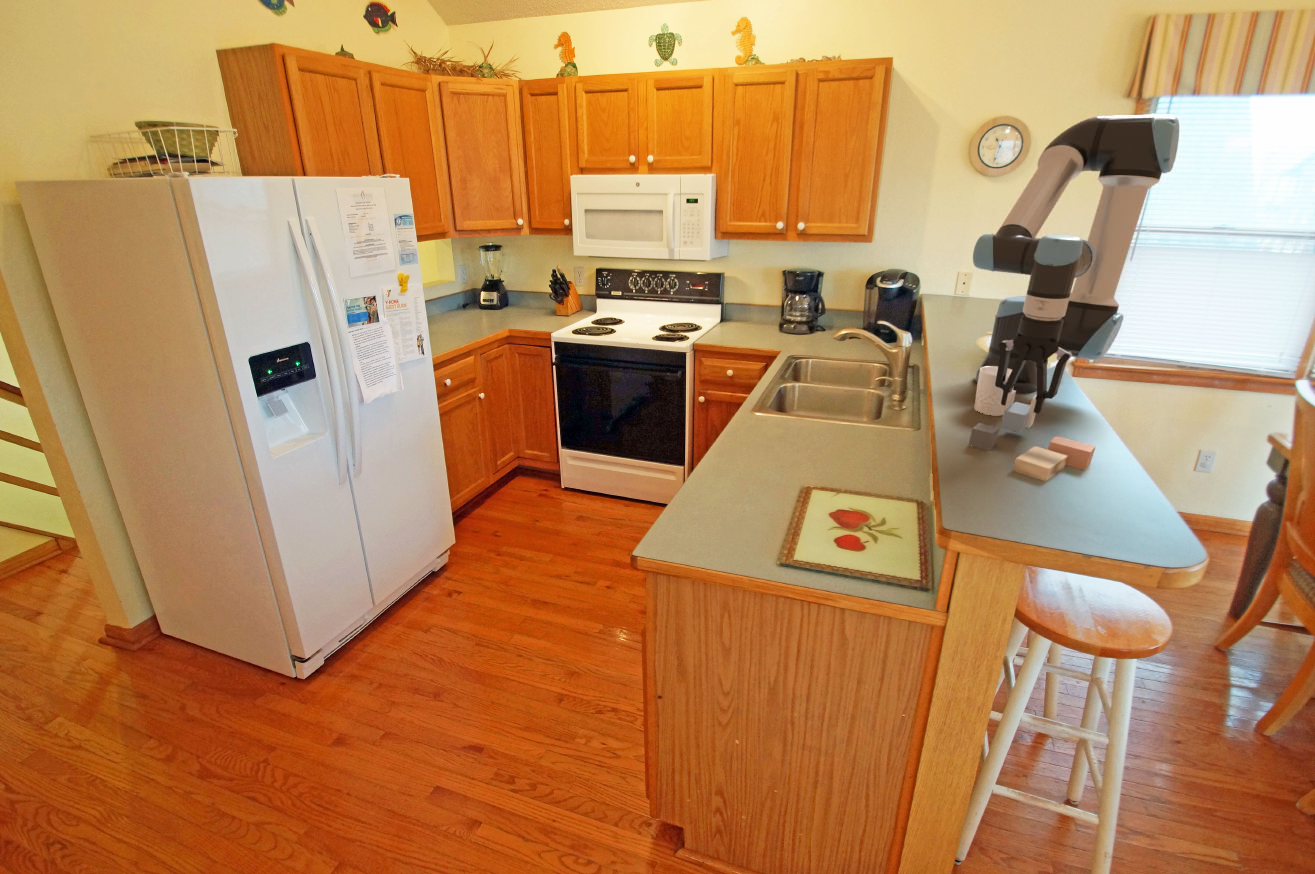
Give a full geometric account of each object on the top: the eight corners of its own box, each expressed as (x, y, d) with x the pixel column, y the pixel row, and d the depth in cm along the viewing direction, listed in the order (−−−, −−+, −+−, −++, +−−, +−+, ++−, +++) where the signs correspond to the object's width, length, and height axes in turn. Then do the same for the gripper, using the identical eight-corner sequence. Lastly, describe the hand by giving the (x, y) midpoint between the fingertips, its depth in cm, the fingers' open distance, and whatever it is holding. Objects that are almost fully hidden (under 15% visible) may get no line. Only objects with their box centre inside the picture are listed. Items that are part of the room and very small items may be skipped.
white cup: (1012, 418, 149) (1022, 377, 145) (975, 415, 151) (984, 375, 147) (1002, 406, 156) (1011, 367, 152) (967, 404, 158) (976, 364, 154)
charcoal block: (975, 440, 138) (979, 422, 136) (995, 445, 135) (999, 428, 134) (968, 445, 135) (972, 428, 134) (988, 451, 133) (992, 433, 131)
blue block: (1011, 418, 143) (1015, 401, 141) (1031, 423, 140) (1035, 406, 139) (1000, 427, 138) (1004, 410, 137) (1020, 432, 136) (1025, 415, 134)
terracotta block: (1045, 459, 129) (1050, 441, 128) (1051, 453, 132) (1055, 436, 130) (1084, 470, 125) (1090, 452, 123) (1090, 464, 127) (1095, 446, 126)
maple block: (1031, 459, 130) (1035, 445, 129) (1063, 469, 126) (1067, 455, 124) (1012, 472, 124) (1015, 458, 123) (1045, 483, 120) (1049, 469, 119)
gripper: (991, 312, 132) (970, 417, 142) (1086, 327, 122) (1055, 439, 131) (1004, 306, 137) (982, 407, 147) (1096, 319, 126) (1066, 428, 136)
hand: (1017, 422), depth 139 cm, fingers closed on blue block, 4 cm apart
